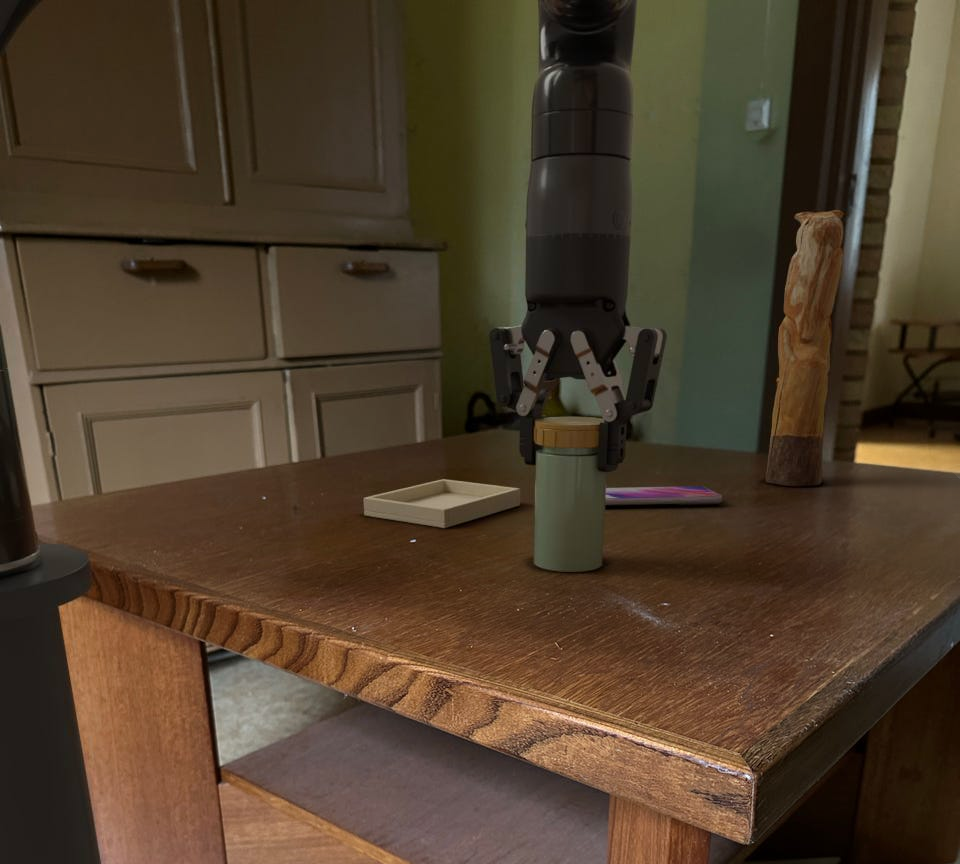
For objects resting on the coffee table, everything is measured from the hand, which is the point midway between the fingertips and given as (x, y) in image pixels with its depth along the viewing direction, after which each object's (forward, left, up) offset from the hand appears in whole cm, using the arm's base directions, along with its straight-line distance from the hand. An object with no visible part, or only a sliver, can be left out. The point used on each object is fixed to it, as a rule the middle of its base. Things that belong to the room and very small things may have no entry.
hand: (570, 466), depth 71 cm
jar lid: (0, 0, +3) cm, 3 cm away
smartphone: (+27, +6, -8) cm, 29 cm away
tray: (+11, +21, -8) cm, 25 cm away
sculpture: (+49, -3, -8) cm, 50 cm away
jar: (0, 0, -8) cm, 8 cm away
